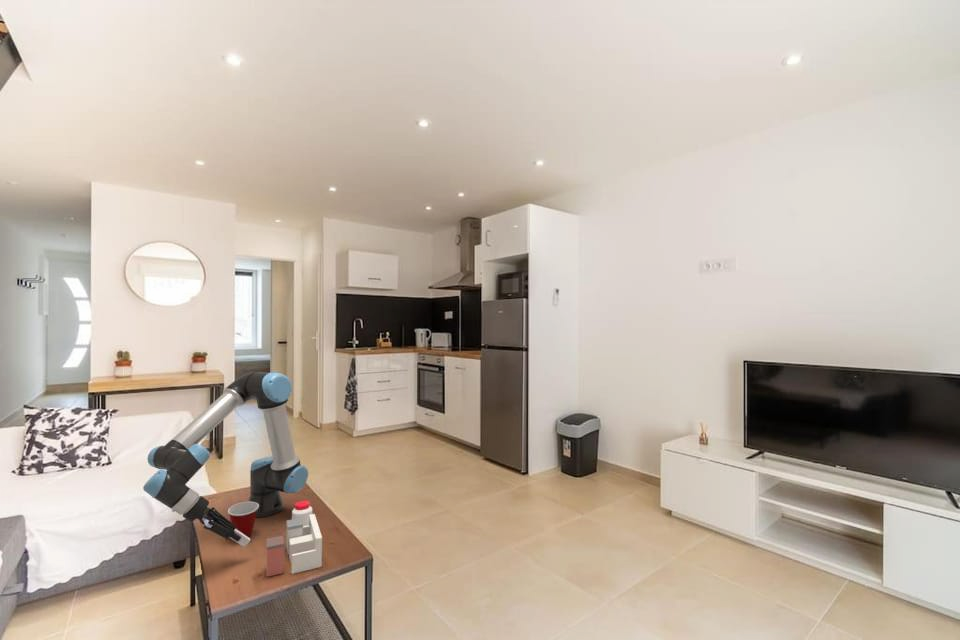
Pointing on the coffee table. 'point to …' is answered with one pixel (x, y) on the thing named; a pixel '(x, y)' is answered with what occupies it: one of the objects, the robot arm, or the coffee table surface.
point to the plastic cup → (244, 516)
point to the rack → (306, 548)
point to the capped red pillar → (274, 555)
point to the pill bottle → (302, 511)
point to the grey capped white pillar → (294, 530)
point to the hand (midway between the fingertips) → (247, 542)
